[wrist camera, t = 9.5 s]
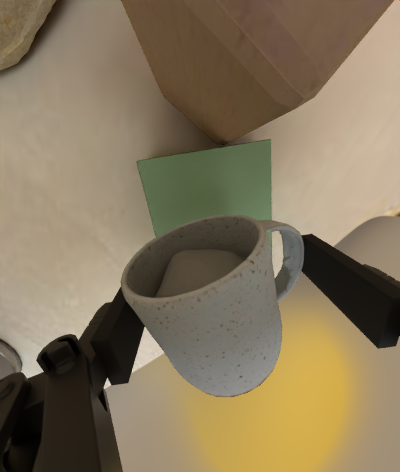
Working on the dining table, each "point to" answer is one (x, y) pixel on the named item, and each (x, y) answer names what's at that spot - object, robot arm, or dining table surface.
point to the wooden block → (246, 54)
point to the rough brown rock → (20, 27)
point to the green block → (208, 185)
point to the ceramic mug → (215, 298)
